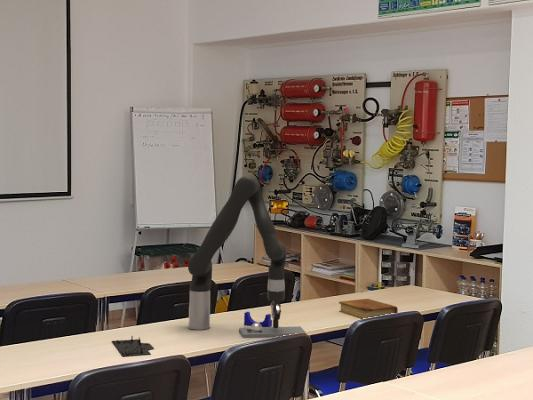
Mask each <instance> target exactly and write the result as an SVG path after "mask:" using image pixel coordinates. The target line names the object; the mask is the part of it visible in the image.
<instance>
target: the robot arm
mask: <svg viewBox="0 0 533 400" xmlns="http://www.w3.org/2000/svg"><path fill="white" fill-rule="evenodd" d="M247 201H248V202H249V204H250V206H251V209H252V211H253V213H252V214H253V216H254V220H255V221H254V222H255V224H256V228H257V229H258V232H259V234H260V237H261V239H262V243H263V247H264V251H265V253H266V254H265V255H266V256H267V257H268V258H269V260H270V265H269V267H268V274H267V275H268V277H267V279H268V280H267V296H266V297H267V301H271V303H270V311H271V313H270V314H271V319H272V327H273V328H278V327H279V320H280V318H281V314H282V313H281V312H282V305H281V303H280V302H282V301H284V300H285V295H286V294H285V293H286V292H285V291H286V290H285V289H286V288H285V287H286V286H285V284H286V283H285V266H286V260H287V259H286V258H287V248H286V246H285V245H284V244H283V243H279V241H278V238H277V237H278V233H277V230H276V227H275V225H274V222H273V220H272V219H271V216H270V214H269V211H268V209H267V206H266V203H265V201H264V197H263V193H262V188H261V185H260V182H259V180H258V179H257V178H256V177H255V176H253V175H244V176H241V177H240V178H239V179H238V180H237V181H236V182H235V185H234V187H233V189H232V191H231V194H230V196H229V198H228V199H227V201H226V203H225V204H224V206H223V207H222V208H221V210H220V212H219V213H218V214H217V216H216V218H215V219H214V221H213V222H212V224H211V226H210V228H209V229H208V232H207V233H206V235H205V237H204V239H203V241H202V242H201V245H200V246H199V247H198V249H197V250H196V252H194V254H193V256H192V257H190V259H189V261H188V264H187V270H188V272H189V274H190V275H191V281H190V283H189V305H188V328H189V330H195V331H196V330H198V331H199V330H202V331H203V330H208V329H210V327H211V326H210V325H211V323H210V322H211V285H212V283H213V282H212V280H213V262H212V259H213V258H214V256H215V255H216V252H217V251H218V250H219V249H220V248H221V247H222V246H223V244H225V242H226V241H227V240H228V239H229V237H230V236H231V234H232V233H233V231H234V229H235V227H236V225H237V223H238V221H239V218H240V214H241V211H242V210H243V207H244V206H245V205H246V203H247Z"/></svg>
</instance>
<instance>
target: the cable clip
mask: <svg viewBox="0 0 533 400" xmlns="http://www.w3.org/2000/svg"><path fill="white" fill-rule="evenodd" d="M243 315H244V316H243V325H244V326H245V327H251V326H252V325H253V324H254V323H259V324H260V325H261V326H262V327H273V319H272V313H267V314H265V317H264V319H263V321H255V320H254V319H253V318H252V316H251V312H250V311H245V312H243Z"/></svg>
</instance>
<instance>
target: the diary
mask: <svg viewBox="0 0 533 400" xmlns="http://www.w3.org/2000/svg"><path fill="white" fill-rule="evenodd" d="M338 304H340V310H339V311H338V312H339V313H342V314H345V315H348V316H351V317H355V318H357V319H360V320H363V318H368V317H374V316H380V315H385V314H391V313H399V312H398V310H399V309H398V307H397V306H396V305H392V304H388V303H384V302H381V301H377V300H374V299H372V298H371V299H370V298H361V299H352V300H343V301H338Z"/></svg>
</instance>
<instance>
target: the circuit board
mask: <svg viewBox="0 0 533 400" xmlns="http://www.w3.org/2000/svg"><path fill="white" fill-rule="evenodd" d="M133 337H134V336H133V335H131V338H130V339H122V340H121V339H117V340H111V343H112V344H113V346H114V347H115V349H116V350H117V351H118V353H119V354H120V355H121V357H122V358H129V357H143V356H152V353H151V352H150V351H151V350H152V351H153V350H155V348H154V347H153V346H152V344H151V343H149V342H148V343H147V342H141V341H142V340H141V338H138V339H137V338H136V339H134V338H133Z"/></svg>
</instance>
